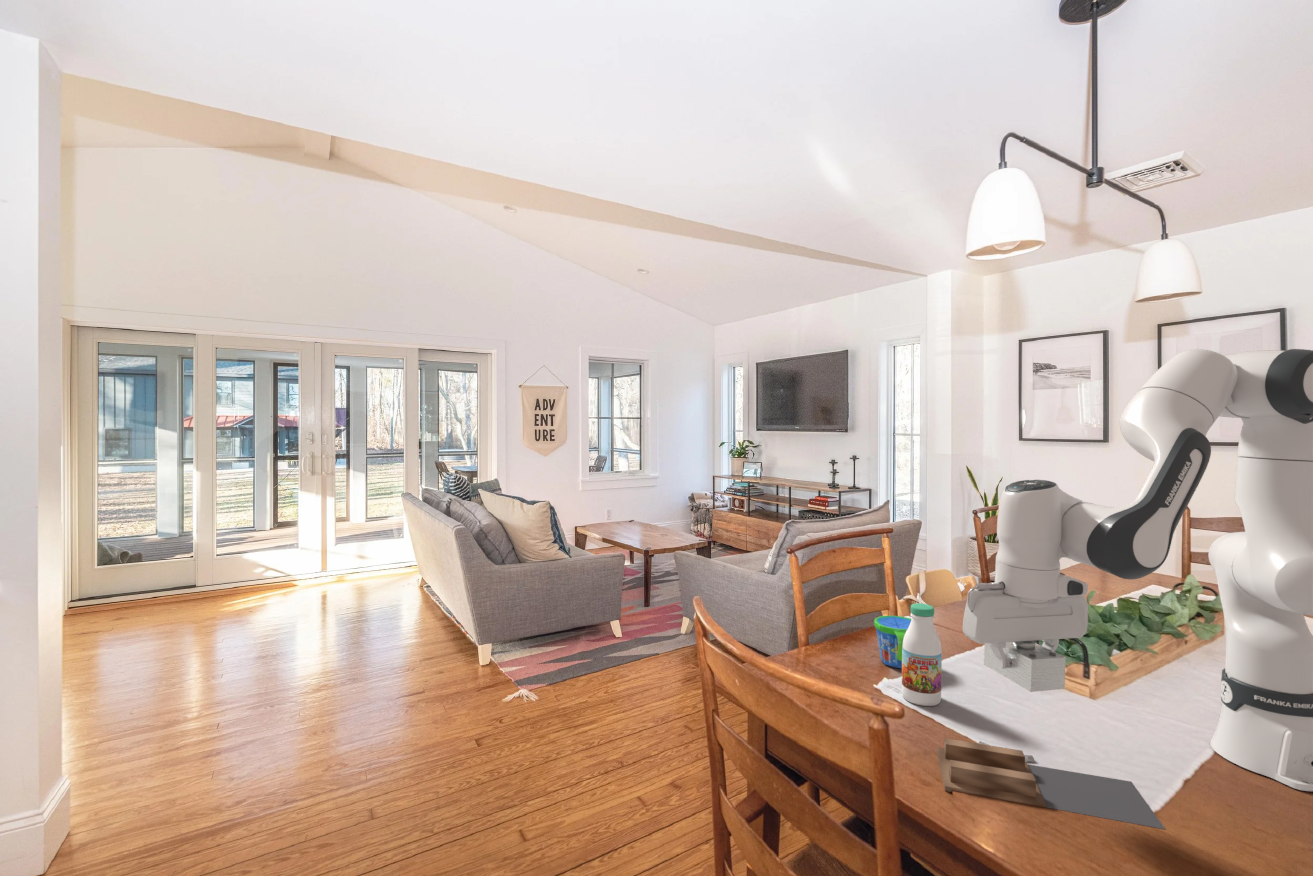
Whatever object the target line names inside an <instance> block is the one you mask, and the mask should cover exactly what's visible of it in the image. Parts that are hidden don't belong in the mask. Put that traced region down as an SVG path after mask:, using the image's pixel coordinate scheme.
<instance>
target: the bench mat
mask: <svg viewBox="0 0 1313 876" xmlns="http://www.w3.org/2000/svg"><path fill="white" fill-rule="evenodd" d="M1027 764H1028V767H1029V769H1030V771H1031V773H1032V774H1033V775H1034V778H1035V780H1036V784H1037V786H1038V789H1039V791H1040V793H1041V795H1042V797H1043V799H1044V802H1045V804H1046V807H1045V808H1047V809H1052V810H1058V811H1063V812H1068V813H1069V812H1070V813H1073V814H1074V813H1075V814H1078V815H1079V814H1080V815H1084V816H1091V817H1096V818H1101V819H1107V820H1111V821H1116V822H1123V823H1127V824H1128V823H1129V824H1133V825H1138V826H1143V827H1144V826H1145V827H1150V828H1155V829H1160V830H1166V827H1165V826H1164V824H1163V823H1162V822H1161V821H1160V819H1159V818H1158V817H1157V815H1156V813H1154V811H1153V809H1151V807H1150V806H1149V804H1148V803H1147V801H1146V799H1145V798H1144V797H1143V795H1142V794H1141V793H1140V792H1139V790H1138V789H1137V787H1136V786H1135V784H1134V783H1133V782H1132V781H1130V780H1124V779H1118V778H1111V777H1105V776H1101V775H1093V774H1089V773H1088V774H1087V773H1082V772H1075V771H1071V770H1070V771H1069V770H1064V769H1057V768H1051V767H1048V766H1047V767H1045V766H1039V765H1034V764H1029V763H1027ZM1041 807H1042V806H1040V808H1041ZM1042 808H1043V807H1042Z"/></svg>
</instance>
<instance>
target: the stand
mask: <svg viewBox="0 0 1313 876" xmlns="http://www.w3.org/2000/svg"><path fill="white" fill-rule="evenodd" d="M943 740H944V741H943V747H939V746H938V747H936V754H937V758H938V764H939V768H940V772H941V774H940V775H941V779H942V782H943V783H942V784H943V787H944V791H945V792H949V793H953V791H956V792H959V793H966V794H970V795H971V794H972V795H976V796H981V797H988V798H993V799H999V800H1002V801H1003V800H1004V801H1010V802H1015V803H1021V804H1025V805H1030V806H1031V805H1032V806H1035V807H1041V806H1042V808H1046V804H1045V802H1044V799H1043V797H1042V795H1041V793H1040V791H1039V789H1038V786H1037V784H1036V780H1035V778H1034V775H1033V774H1032V773H1031V771H1030V769H1029V767H1028V764H1029V763H1028V762H1025V756H1024V755H1025V754H1024V751H1023V750H1020V749H1015V748H1014V749H1013V748H1008V747H1001V746H995V745H991V746H990V744H988V745H984V744H978V743H979V742H978V743H977V742H970V741H965V740H957V739H952V738H947V737H944V738H943Z"/></svg>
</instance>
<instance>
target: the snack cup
mask: <svg viewBox="0 0 1313 876" xmlns="http://www.w3.org/2000/svg"><path fill="white" fill-rule="evenodd" d="M911 619H912V618H910V617H907V616H900V615H880V616H878V617H876V618H875V619H874V620H873V621H874V622H873V623H874V624H873V625H874V628H875V630H876V636H877V637H876V639H877V645H878V651H879V656H880V660H881V662H882V663H883V664H884V665H886V666H889V667H891V668H892V667H893V668H896V669H897V668H898V669H902V647H903V639H904V636H905V633H906V631H907V629H908V627H909V625H910V623H911Z"/></svg>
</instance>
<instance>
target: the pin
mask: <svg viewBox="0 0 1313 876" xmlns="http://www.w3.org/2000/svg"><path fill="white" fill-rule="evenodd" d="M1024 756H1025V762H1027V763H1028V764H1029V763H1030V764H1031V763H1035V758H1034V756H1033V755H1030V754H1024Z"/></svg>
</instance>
